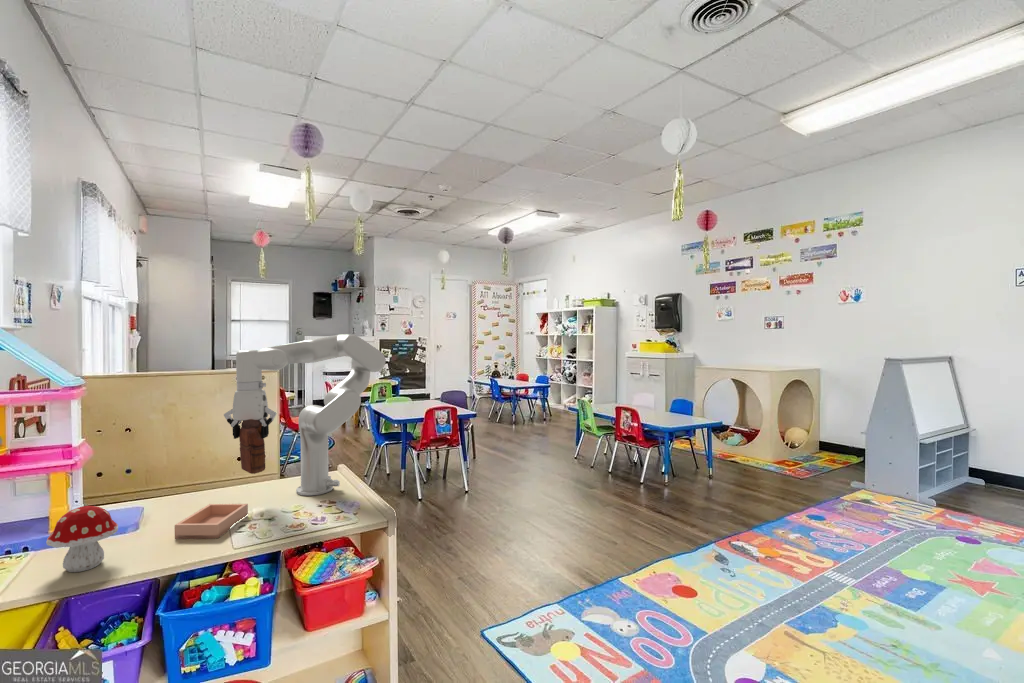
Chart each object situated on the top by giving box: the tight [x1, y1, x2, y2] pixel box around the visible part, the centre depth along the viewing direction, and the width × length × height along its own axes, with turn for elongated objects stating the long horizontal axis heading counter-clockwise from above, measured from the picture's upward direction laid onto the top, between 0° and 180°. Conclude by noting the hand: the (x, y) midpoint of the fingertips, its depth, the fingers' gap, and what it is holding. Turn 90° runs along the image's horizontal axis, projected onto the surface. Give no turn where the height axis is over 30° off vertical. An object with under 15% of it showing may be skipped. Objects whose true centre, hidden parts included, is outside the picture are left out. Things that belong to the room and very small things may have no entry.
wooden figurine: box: [238, 419, 266, 475], centre depth 167 cm, size 12×6×18 cm, turn 48°
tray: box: [174, 503, 249, 540], centre depth 148 cm, size 12×17×4 cm
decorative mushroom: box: [45, 505, 119, 573], centre depth 123 cm, size 14×14×15 cm
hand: (250, 437), depth 166 cm, fingers closed on wooden figurine, 8 cm apart
